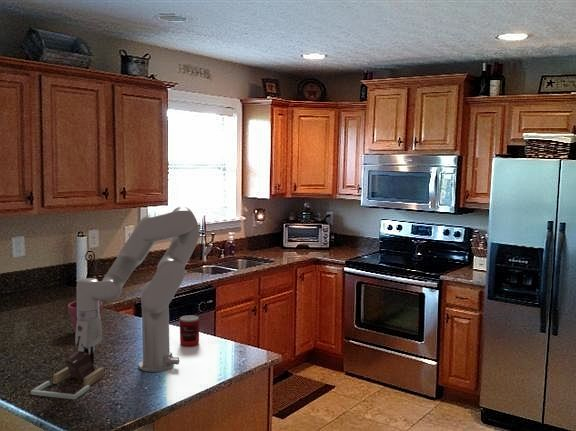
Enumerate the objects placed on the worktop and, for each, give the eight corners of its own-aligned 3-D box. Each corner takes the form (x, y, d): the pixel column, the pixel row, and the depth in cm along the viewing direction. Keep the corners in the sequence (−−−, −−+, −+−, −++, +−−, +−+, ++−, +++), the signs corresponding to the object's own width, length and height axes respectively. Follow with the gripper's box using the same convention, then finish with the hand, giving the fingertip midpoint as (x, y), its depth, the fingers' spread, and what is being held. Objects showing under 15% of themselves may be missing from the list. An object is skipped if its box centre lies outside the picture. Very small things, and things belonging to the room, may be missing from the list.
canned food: (191, 339, 239) (191, 313, 237) (203, 344, 233) (202, 317, 232) (176, 343, 233) (175, 317, 232) (187, 348, 228) (187, 321, 226)
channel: (104, 375, 199) (103, 367, 199) (87, 387, 189) (87, 378, 189) (71, 372, 202) (70, 364, 201) (53, 383, 192) (53, 374, 192)
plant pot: (61, 334, 244) (60, 305, 243) (84, 325, 257) (83, 297, 256) (88, 338, 239) (87, 308, 238) (110, 329, 252) (109, 300, 251)
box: (85, 366, 202) (79, 349, 200) (95, 370, 199) (89, 353, 196) (71, 376, 198) (64, 359, 195) (81, 381, 194) (74, 363, 192)
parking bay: (90, 388, 188) (90, 385, 188) (74, 399, 180) (74, 395, 179) (47, 384, 191) (47, 380, 191) (30, 394, 183) (30, 390, 183)
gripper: (84, 320, 193) (85, 372, 194) (109, 309, 207) (109, 358, 209) (65, 318, 194) (66, 370, 196) (91, 307, 209) (91, 356, 211)
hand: (88, 364), depth 203 cm, fingers closed
